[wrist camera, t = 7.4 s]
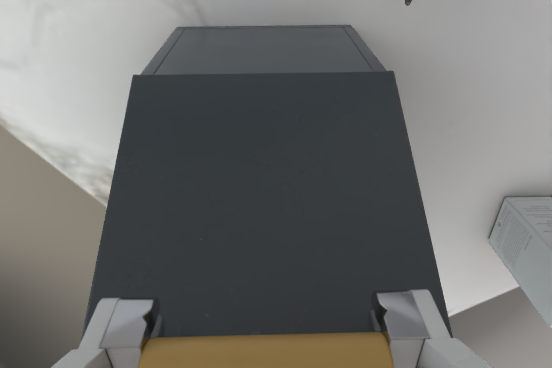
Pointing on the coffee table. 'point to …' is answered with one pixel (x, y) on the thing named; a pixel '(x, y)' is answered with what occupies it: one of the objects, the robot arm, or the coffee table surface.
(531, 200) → the small box
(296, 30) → the bin
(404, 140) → the bin lid
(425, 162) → the coffee table surface
